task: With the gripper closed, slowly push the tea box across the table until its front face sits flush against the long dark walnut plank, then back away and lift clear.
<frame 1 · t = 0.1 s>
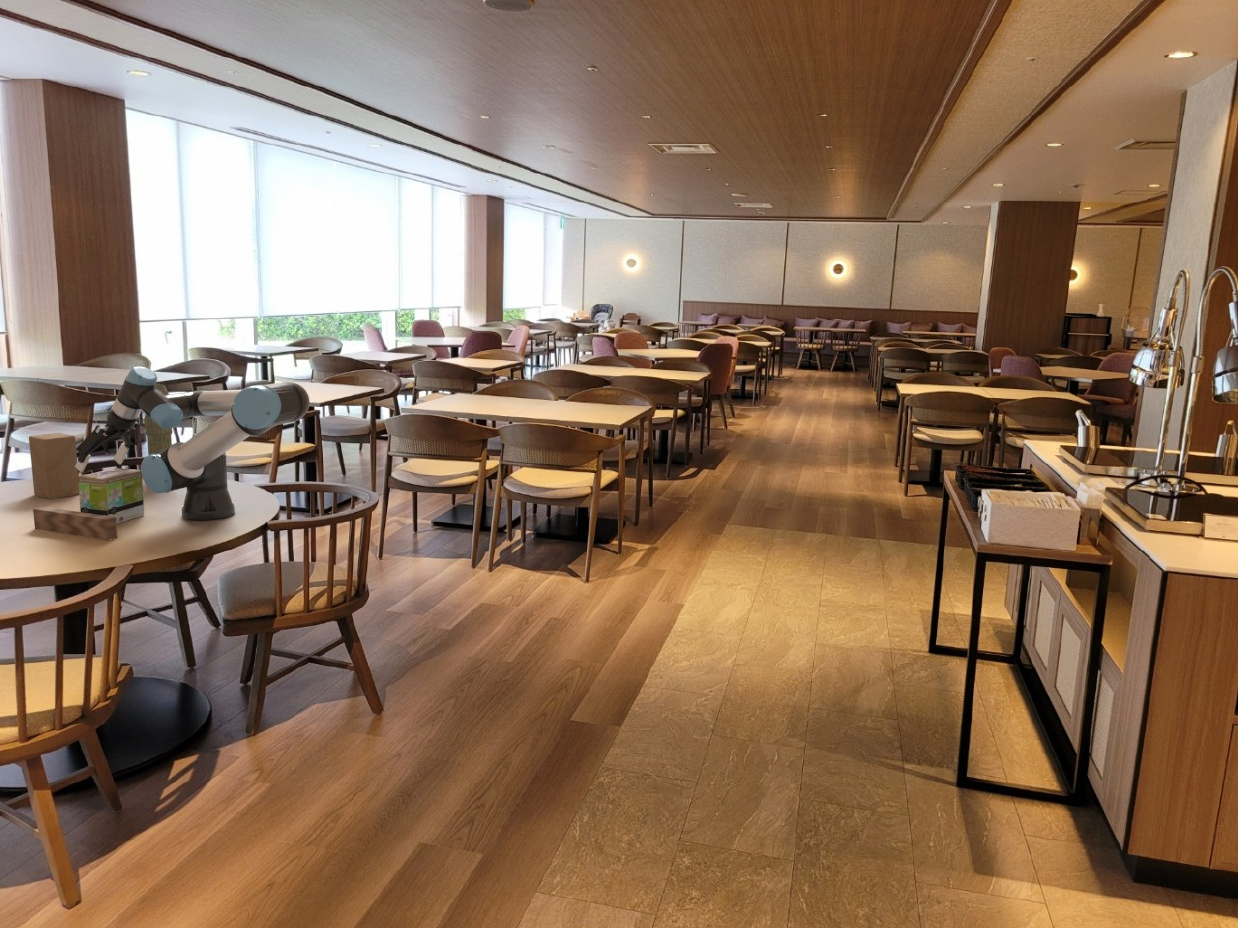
hand: (98, 465, 276), 15 cm above the table, tool tilted 35°, fingers open, 13 cm apart
tea box: (114, 520, 273), on the table
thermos: (162, 481, 326), on the table
walnut plank: (75, 533, 258), on the table
wooden block: (57, 495, 302), on the table
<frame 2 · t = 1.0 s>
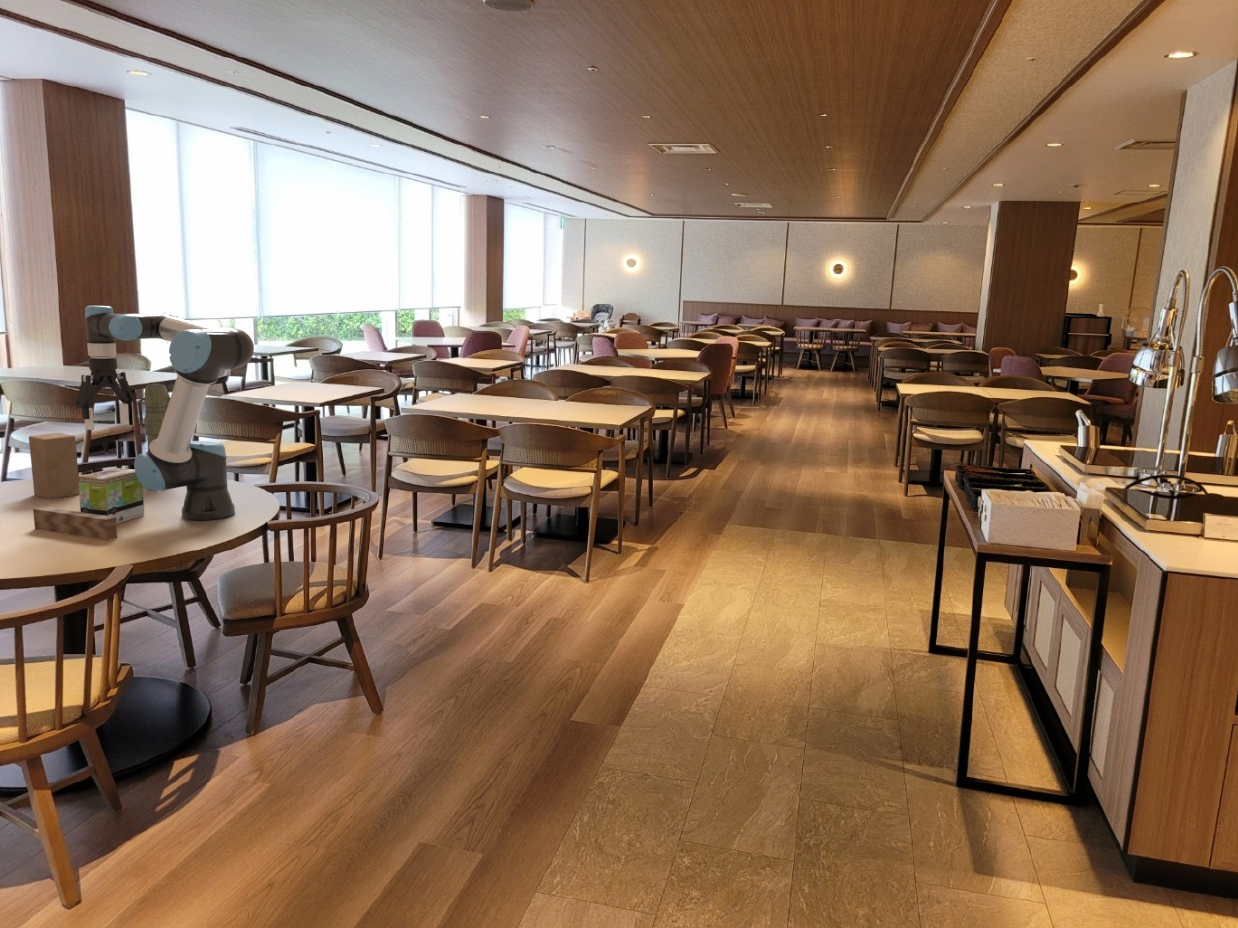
hand: (107, 426, 279), 27 cm above the table, tool pointing down, fingers open, 12 cm apart
nothing on the table moved.
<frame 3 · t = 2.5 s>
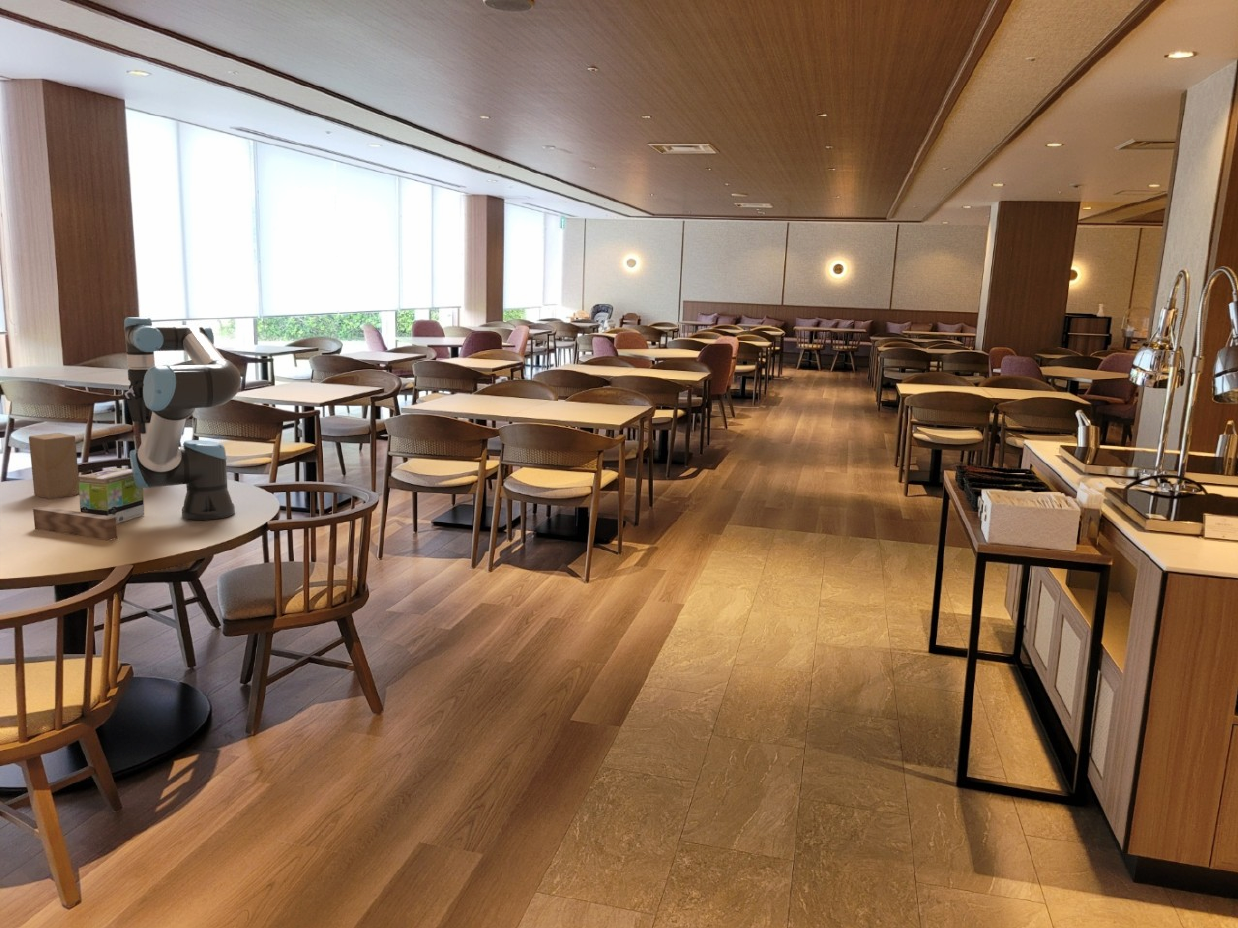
hand: (146, 443, 282), 21 cm above the table, tool pointing down, fingers closed
nothing on the table moved.
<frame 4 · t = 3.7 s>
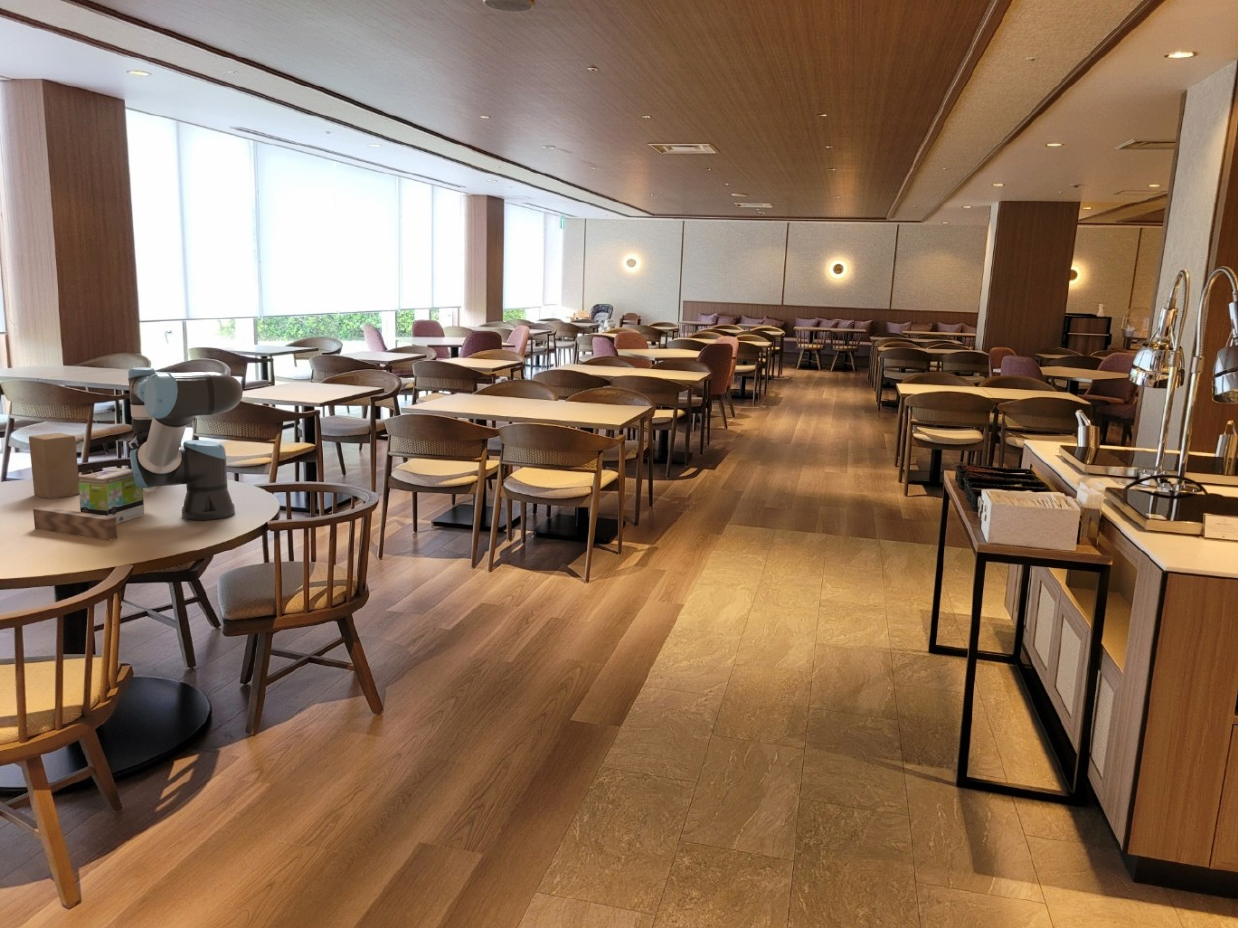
hand: (150, 491, 285), 6 cm above the table, tool pointing down, fingers closed
nothing on the table moved.
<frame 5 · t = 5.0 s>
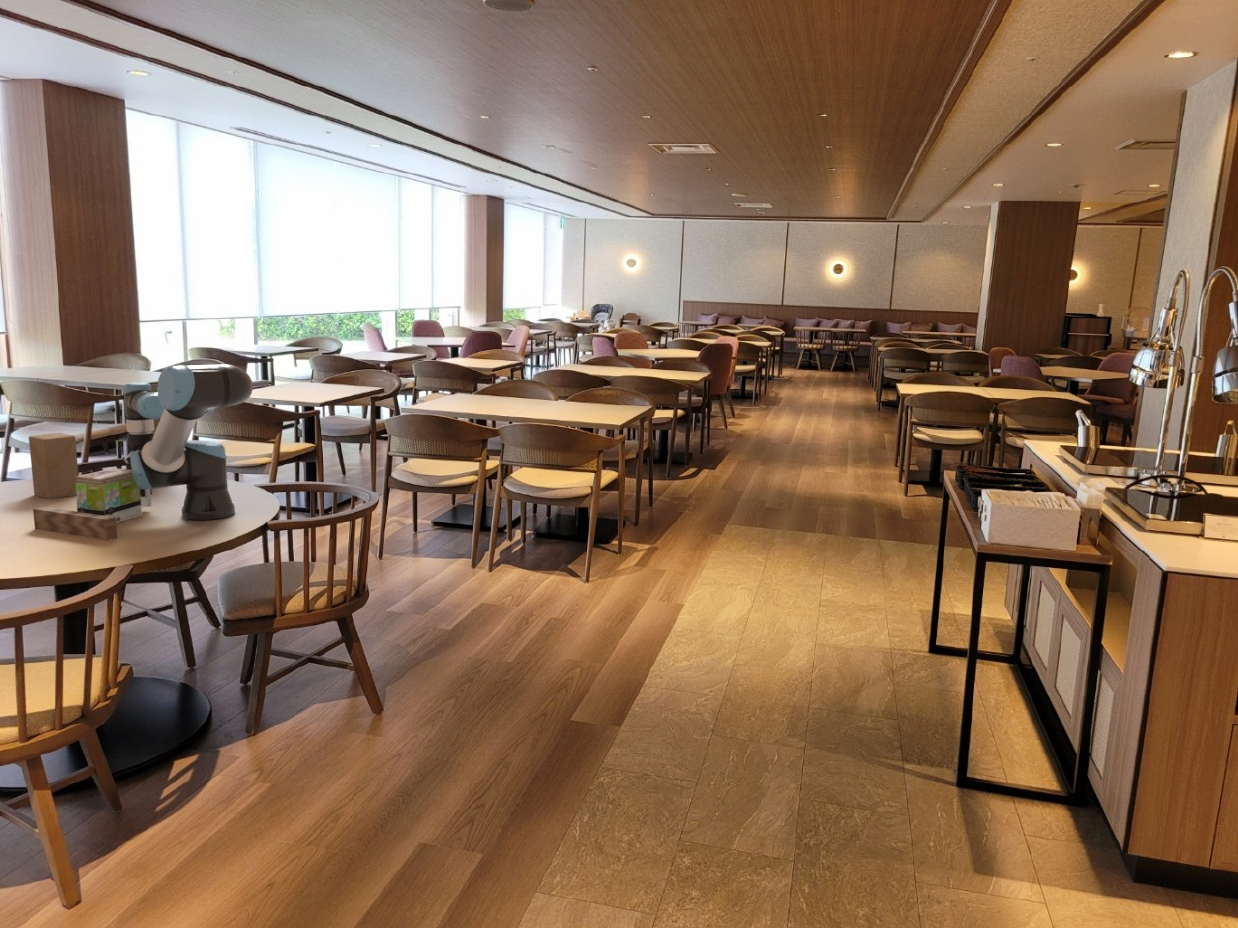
hand: (146, 505, 284), 2 cm above the table, tool pointing down, fingers closed
tea box: (111, 521, 272), on the table, touching hand
everything else where it was.
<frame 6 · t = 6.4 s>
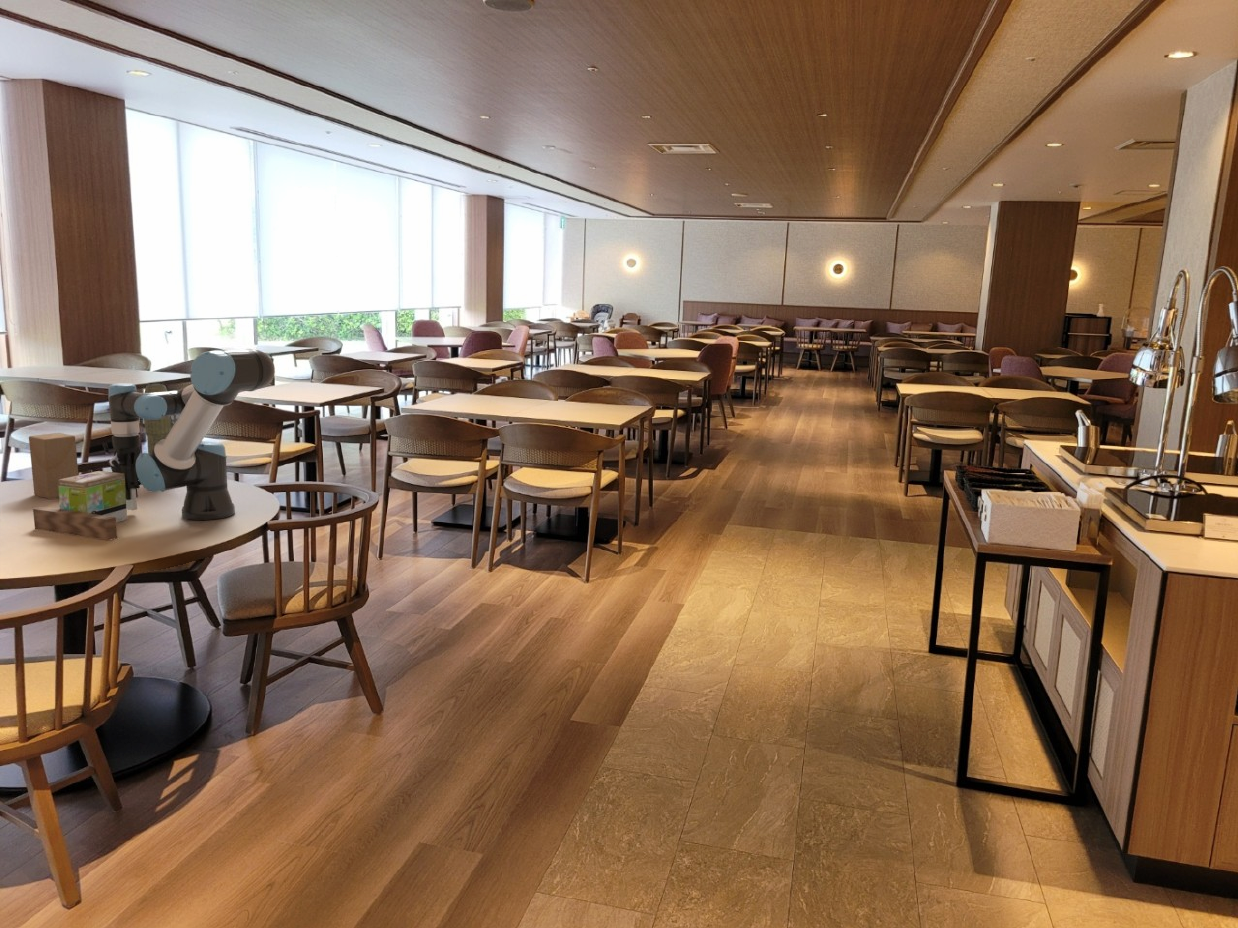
hand: (131, 509, 279), 2 cm above the table, tool pointing down, fingers closed
tea box: (95, 524, 268), on the table, touching hand, walnut plank
everything else where it was.
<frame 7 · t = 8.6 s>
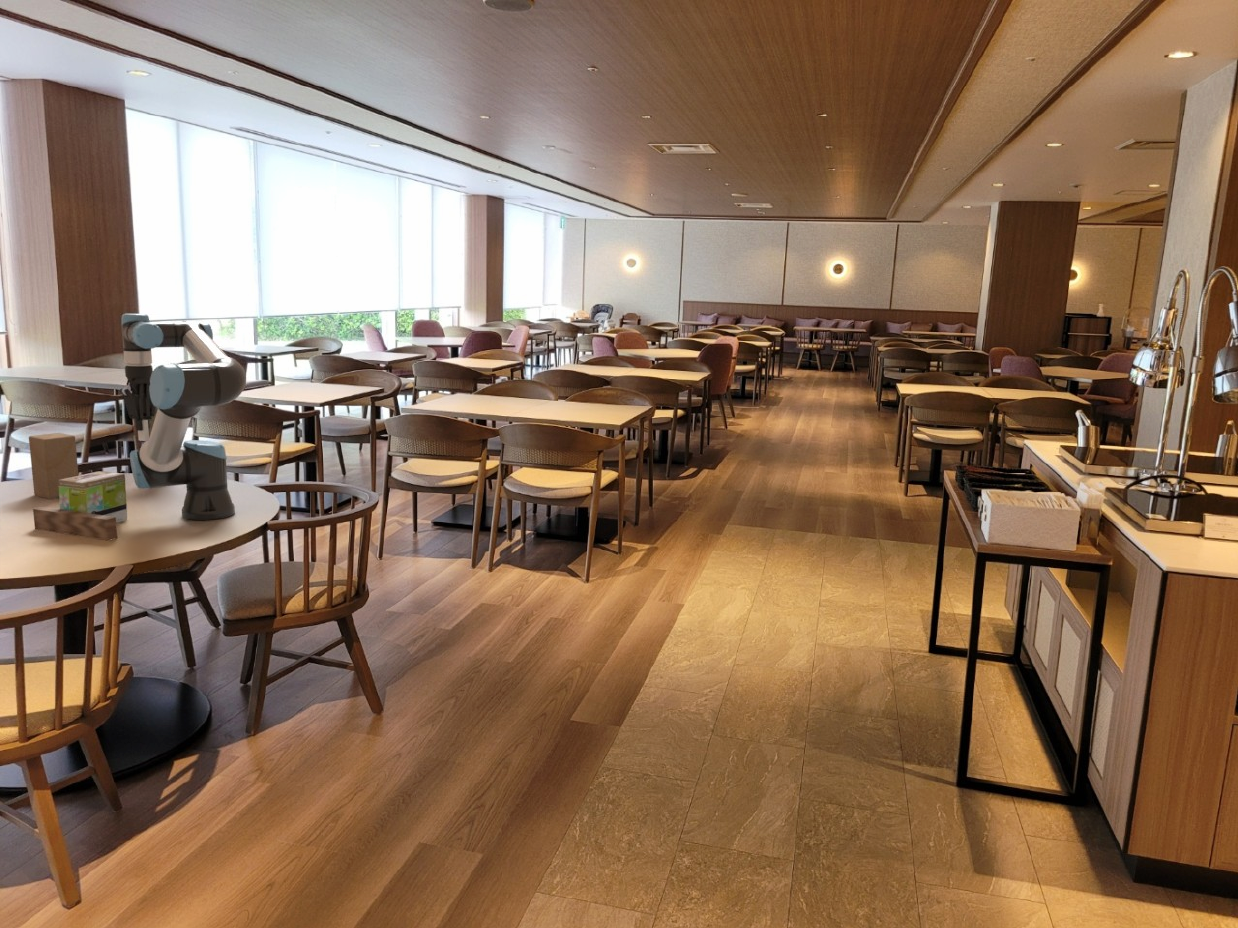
hand: (143, 440, 281), 22 cm above the table, tool pointing down, fingers closed
tea box: (95, 525, 268), on the table
everything else where it was.
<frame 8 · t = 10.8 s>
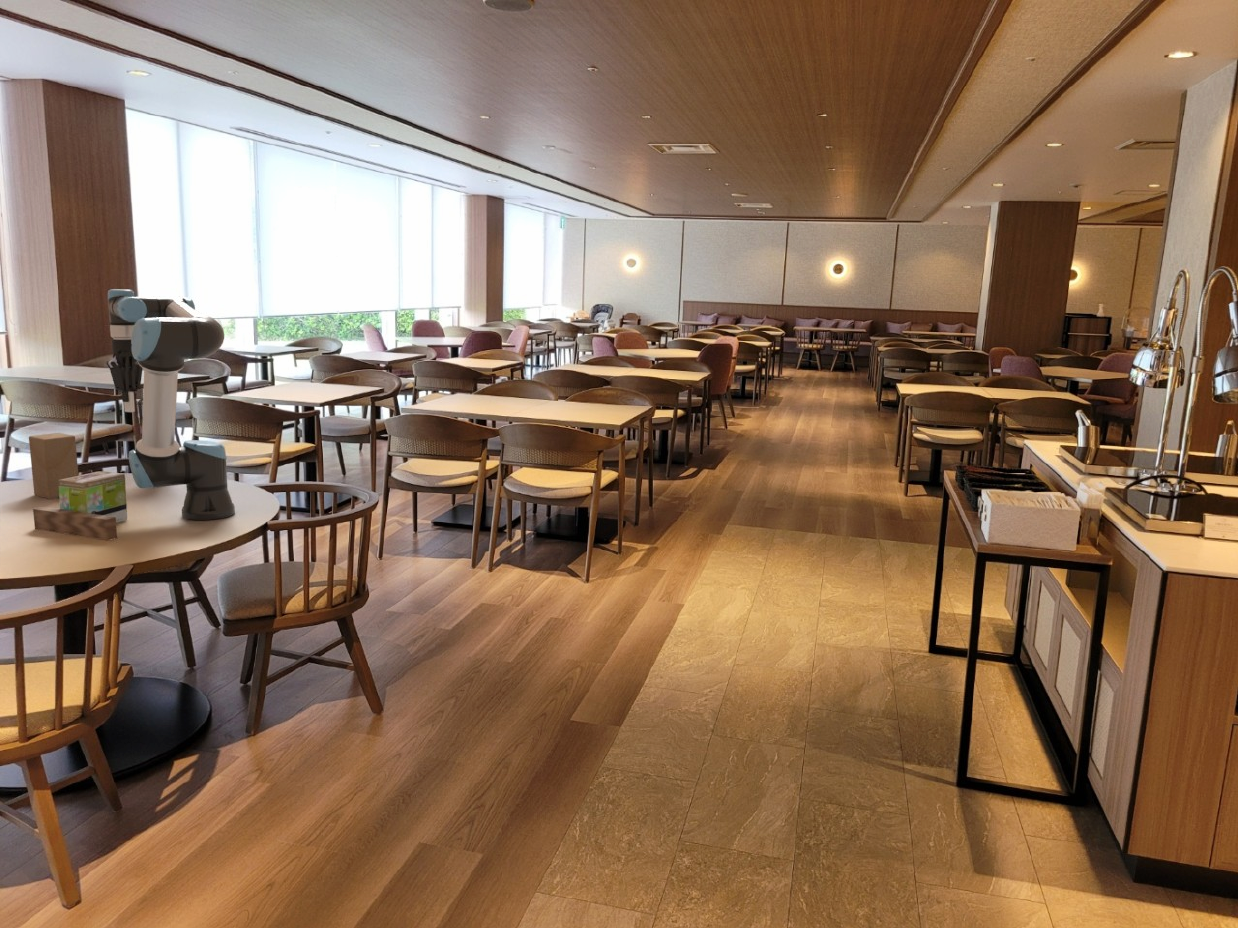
hand: (129, 411, 293), 29 cm above the table, tool pointing down, fingers closed
nothing on the table moved.
at the end: tea box inside the target area on the table beside the walnut plank (0.3 cm from its centre), on the table; tea box tilted 0° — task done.
